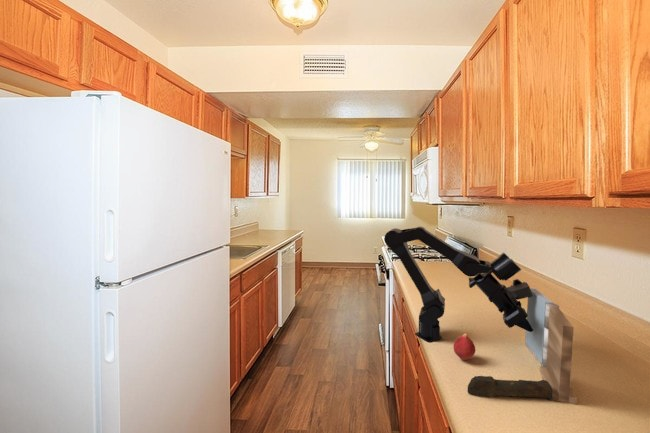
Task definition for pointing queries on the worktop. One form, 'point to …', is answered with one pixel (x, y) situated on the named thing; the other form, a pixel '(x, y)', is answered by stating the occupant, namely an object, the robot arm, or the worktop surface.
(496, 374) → the worktop surface
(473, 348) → the onion
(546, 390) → the hand tool
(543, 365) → the hinge frame
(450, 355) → the worktop surface
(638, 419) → the worktop surface
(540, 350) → the hinged leaf
